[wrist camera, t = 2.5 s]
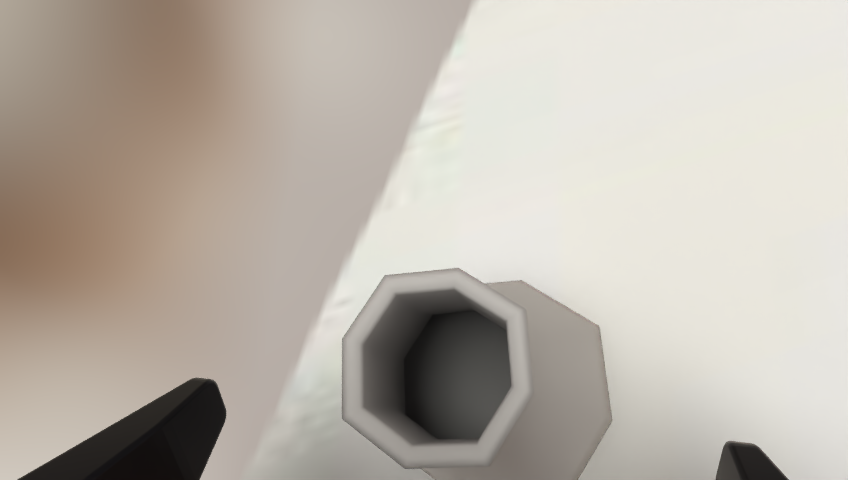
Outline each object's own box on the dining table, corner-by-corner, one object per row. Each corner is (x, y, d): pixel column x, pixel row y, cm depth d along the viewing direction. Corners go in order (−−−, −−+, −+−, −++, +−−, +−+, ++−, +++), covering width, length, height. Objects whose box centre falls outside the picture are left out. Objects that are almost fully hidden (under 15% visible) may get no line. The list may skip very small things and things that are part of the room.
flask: (632, 306, 18) (717, 192, 8) (587, 544, 16) (632, 732, 7) (422, 259, 20) (303, 126, 10) (363, 466, 18) (160, 527, 9)
